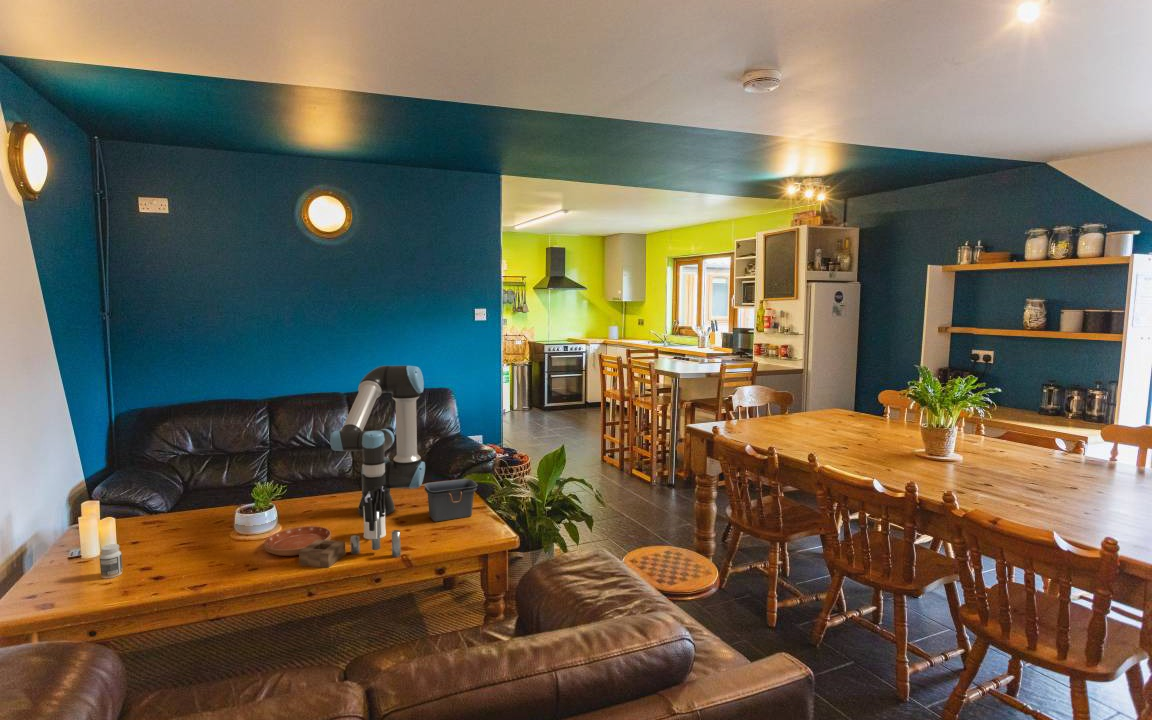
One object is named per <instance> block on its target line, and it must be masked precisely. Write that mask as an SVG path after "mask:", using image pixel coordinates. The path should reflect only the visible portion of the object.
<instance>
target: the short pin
mask: <svg viewBox="0 0 1152 720" xmlns="http://www.w3.org/2000/svg"><path fill="white" fill-rule="evenodd" d="M360 547H361V545H360V535H357V534H356V535H354V534H353V535H351V536H350V554H352V555H357V554H358V555H359V554H360V549H361V548H360Z"/></svg>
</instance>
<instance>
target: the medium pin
mask: <svg viewBox="0 0 1152 720" xmlns="http://www.w3.org/2000/svg"><path fill="white" fill-rule="evenodd" d="M401 549H402V547H401V530H400V529H399V530H398V529H395V530H392V531H391V557H392V558H399V557H401V551H402V550H401Z"/></svg>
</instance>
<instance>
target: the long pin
mask: <svg viewBox="0 0 1152 720" xmlns="http://www.w3.org/2000/svg"><path fill="white" fill-rule="evenodd" d="M376 521H377V539H371V550H372V551H377V550H380V549H381V538H380V512H379V510H376Z"/></svg>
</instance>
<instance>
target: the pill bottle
mask: <svg viewBox="0 0 1152 720" xmlns="http://www.w3.org/2000/svg"><path fill="white" fill-rule="evenodd" d="M100 552H101V554H100V556H99V565H100V566H99V568H100V576H101V578H102V579H105V580H106V579H107V580H108V579H113V578H116V577H119V576H120V575H122V573H123V571H124V570H123V557H122V556H123V555H122V554H123V553H122V551H121V550H120V545H119V544H118V543H114V544H113V543H112V544H107V545H104V546H102V547H101V550H100Z"/></svg>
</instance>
